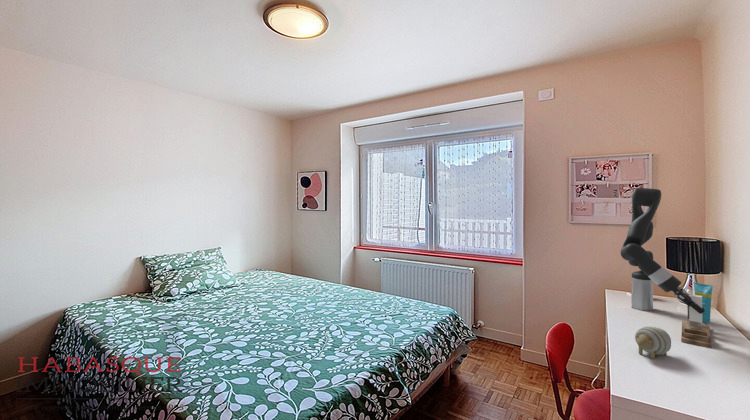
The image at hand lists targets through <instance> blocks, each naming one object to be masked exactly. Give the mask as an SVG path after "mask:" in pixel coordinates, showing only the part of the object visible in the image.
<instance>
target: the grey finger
mask: <svg viewBox="0 0 750 420" xmlns="http://www.w3.org/2000/svg"><path fill="white" fill-rule="evenodd" d="M689 296H690V297H691V298H692V300H693V301H694V302H696V304H697V305H699V306H700V307H701V308H702V296H698V295H695V294H690V293H689ZM688 303H690V301H688ZM686 306H687V307H686V308H687V311H688V310H689V319H688V322H689V321H695V322H700V323H702V324H703V322H702V313H701V314H699V313H698V312H697V311H696V310H695V309H693V308H692V307H689V306H688V305H686Z"/></svg>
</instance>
